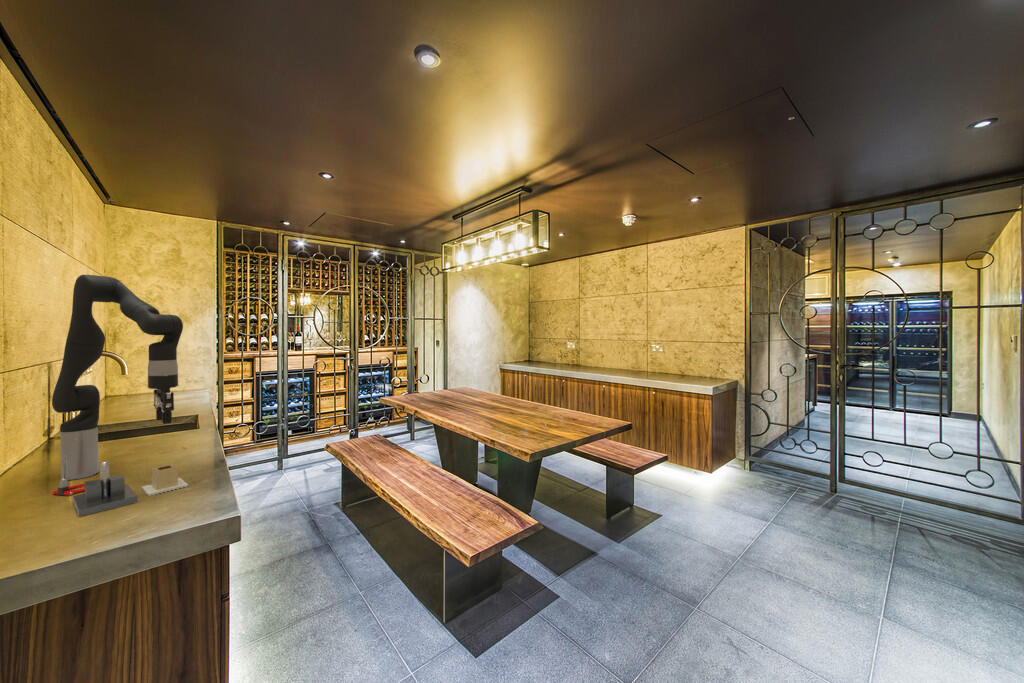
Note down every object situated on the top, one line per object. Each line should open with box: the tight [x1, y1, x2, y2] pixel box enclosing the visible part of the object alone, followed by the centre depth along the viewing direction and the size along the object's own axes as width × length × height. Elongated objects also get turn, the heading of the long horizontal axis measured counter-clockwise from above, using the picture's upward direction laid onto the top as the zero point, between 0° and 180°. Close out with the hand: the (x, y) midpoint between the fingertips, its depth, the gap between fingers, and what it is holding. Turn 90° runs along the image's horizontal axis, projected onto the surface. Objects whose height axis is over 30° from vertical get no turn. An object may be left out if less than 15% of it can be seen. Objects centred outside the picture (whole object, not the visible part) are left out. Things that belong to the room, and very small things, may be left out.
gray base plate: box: [72, 460, 138, 518], centre depth 119 cm, size 16×12×12 cm
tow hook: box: [51, 455, 85, 497], centre depth 129 cm, size 8×13×9 cm
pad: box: [141, 477, 189, 497], centre depth 130 cm, size 10×10×1 cm
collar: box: [151, 463, 179, 490], centre depth 130 cm, size 6×6×6 cm
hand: (163, 421), depth 130 cm, fingers open, 8 cm apart
